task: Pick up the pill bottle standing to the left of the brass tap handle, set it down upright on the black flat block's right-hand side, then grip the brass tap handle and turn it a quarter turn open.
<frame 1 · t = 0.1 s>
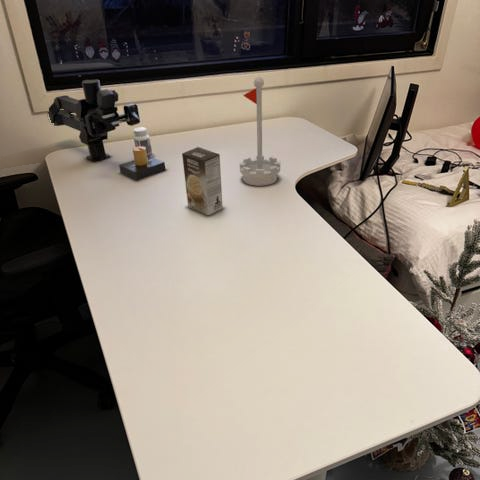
hand: (127, 124, 148), 17 cm above the table, tool horizontal, fingers open, 9 cm apart
tap handle: (140, 155, 156), point 6 cm above the table, hinge at 0.0°
flag stand: (260, 179, 151), on the table
coffee box: (205, 208, 136), on the table
black flat block: (143, 171, 160), on the table
pill bottle: (145, 157, 171), on the table
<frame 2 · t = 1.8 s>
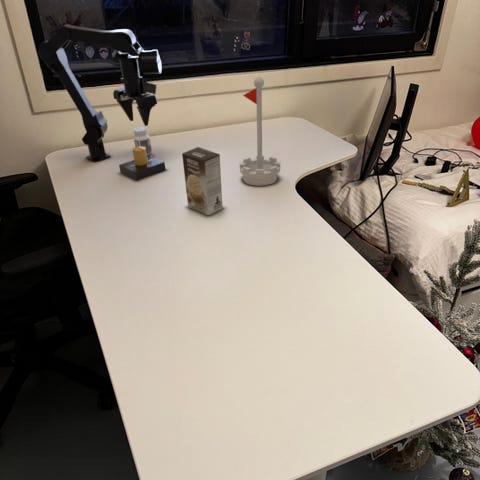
hand: (139, 123, 164), 12 cm above the table, tool pointing down, fingers open, 9 cm apart
nothing on the table moved.
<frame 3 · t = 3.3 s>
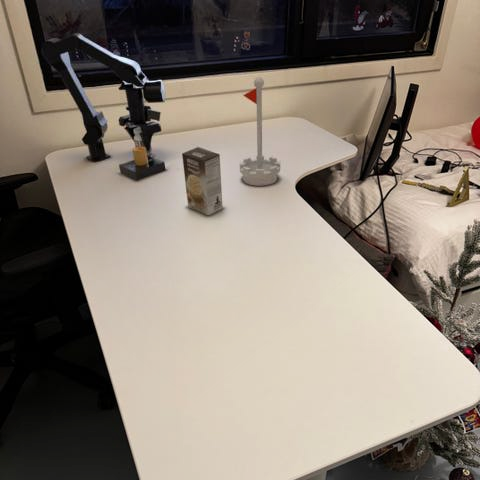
hand: (143, 148, 169), 3 cm above the table, tool pointing down, fingers closed on pill bottle, 6 cm apart
pill bottle: (145, 157, 171), on the table, touching gripper
everything else where it was.
when the fingers open (3 cm above the table, at t = 9.6 s): pill bottle stays where it is, on the table.
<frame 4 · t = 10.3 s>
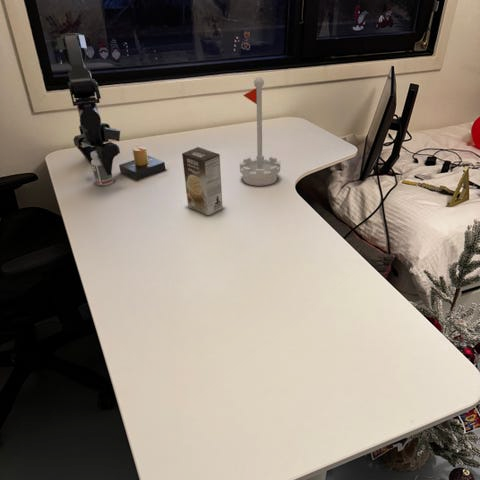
hand: (102, 171, 151), 4 cm above the table, tool pointing down, fingers open, 9 cm apart
pill bottle: (105, 183, 154), on the table
everything else where it was.
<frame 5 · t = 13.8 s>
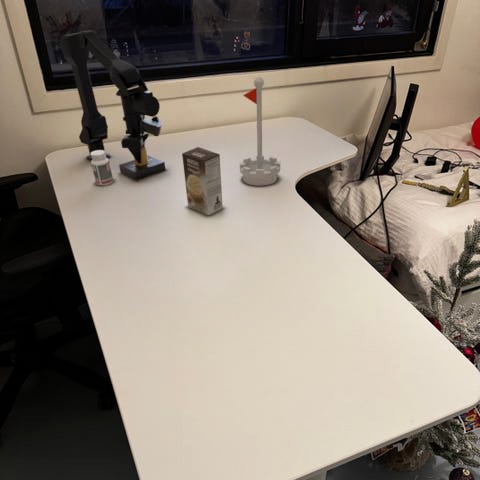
hand: (141, 160, 157), 4 cm above the table, tool pointing down, fingers closed on tap handle, 4 cm apart
tap handle: (140, 155, 156), point 6 cm above the table, hinge at 0.0°, touching gripper
everything else where it was.
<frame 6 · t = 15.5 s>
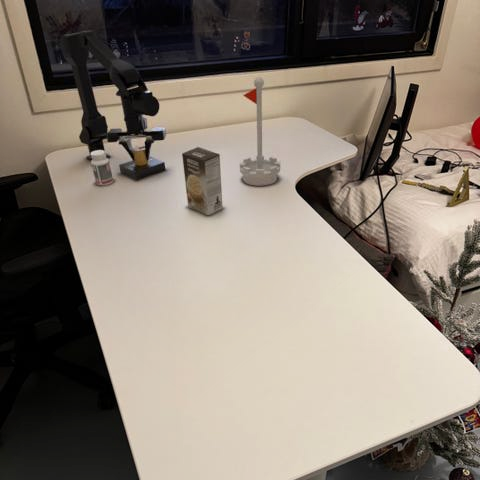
hand: (141, 160, 157), 4 cm above the table, tool pointing down, fingers closed on tap handle, 4 cm apart
tap handle: (140, 155, 156), point 6 cm above the table, hinge at 90.0°, touching gripper
everything else where it was.
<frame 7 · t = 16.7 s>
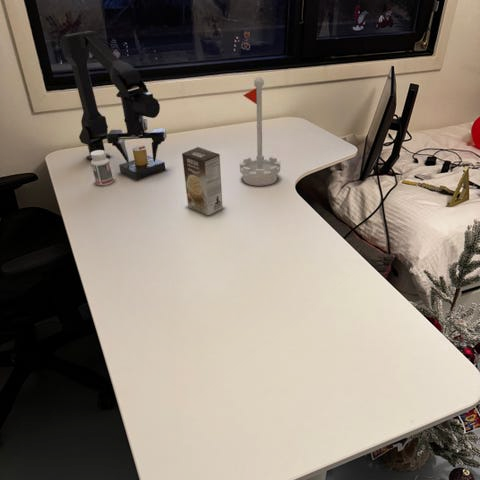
hand: (141, 161, 157), 4 cm above the table, tool pointing down, fingers open, 9 cm apart
tap handle: (140, 155, 156), point 6 cm above the table, hinge at 89.7°
everything else where it was.
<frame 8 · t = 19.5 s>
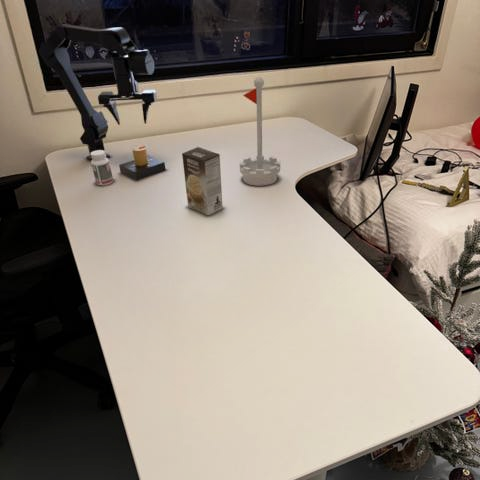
hand: (132, 123, 160), 13 cm above the table, tool pointing down, fingers open, 9 cm apart
nothing on the table moved.
at the end: pill bottle inside the target area on the table beside the black flat block (1.2 cm from its centre), on the table; pill bottle tilted 0°; tap handle at +90° (first picture: +0°) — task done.
